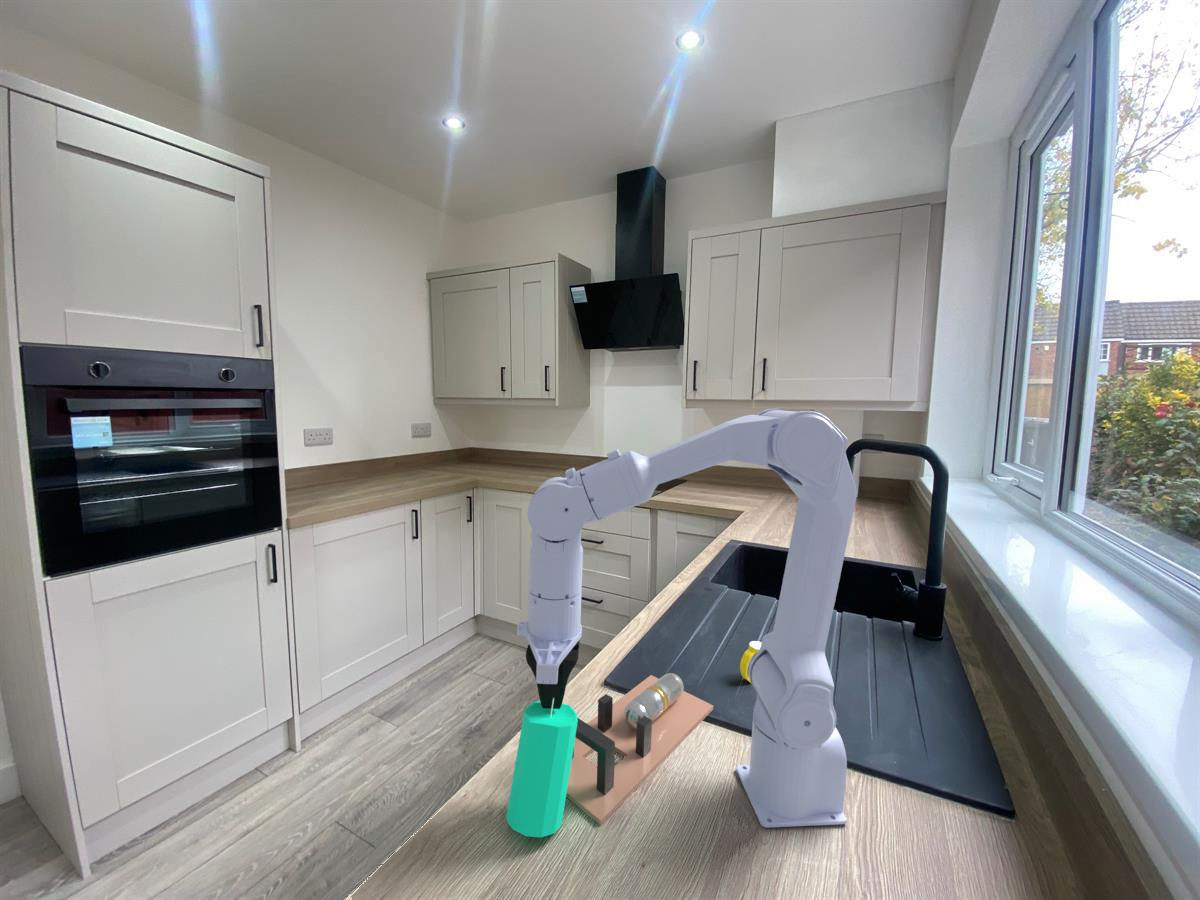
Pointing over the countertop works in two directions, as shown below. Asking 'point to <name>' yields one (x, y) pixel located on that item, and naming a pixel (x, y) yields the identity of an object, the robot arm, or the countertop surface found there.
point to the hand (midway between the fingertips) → (551, 705)
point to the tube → (654, 699)
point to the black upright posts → (610, 742)
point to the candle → (542, 770)
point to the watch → (748, 658)
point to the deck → (631, 752)
